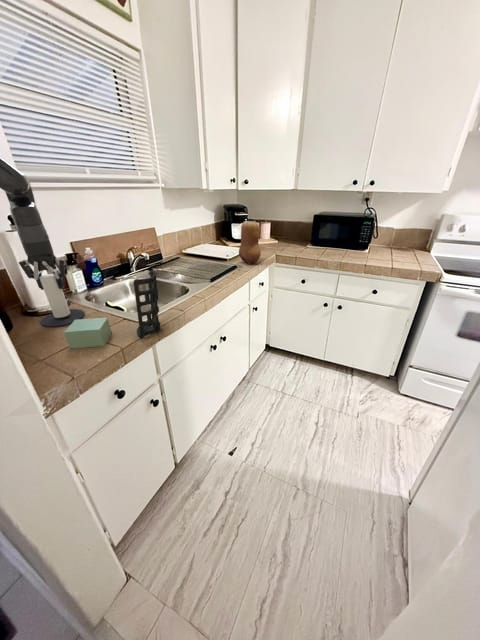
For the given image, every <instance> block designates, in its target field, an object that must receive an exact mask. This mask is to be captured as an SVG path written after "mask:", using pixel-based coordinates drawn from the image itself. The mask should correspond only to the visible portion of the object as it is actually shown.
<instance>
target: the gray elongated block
mask: <svg viewBox="0 0 480 640" xmlns="http://www.w3.org/2000/svg"><path fill="white" fill-rule="evenodd" d="M39 278H40V281H41V284H42V286H43V289H44V290H43V292H44V294H45V297H46V299H47V302H48V304H49V307H50V309H51V313H53V315H54V317H55V318H62V317H65V316H68V315H69V314H70V310H69V309H70V308H69V305H68V302H67V300H66V296H65V293H64V291H63V288H62V289H59V287H58V284H57V282H56V279H57V278H56V277H55V276H54V275H53V274H52V273H48V274H42V276H40V277H39Z"/></svg>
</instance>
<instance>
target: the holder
mask: <svg viewBox="0 0 480 640" xmlns="http://www.w3.org/2000/svg"><path fill="white" fill-rule="evenodd" d="M149 272H150V276H149V277H147V278H139V279H137V278H136V279H134V280H133V288H134V289H133V291H134V297H135V305H136V312H137V320H138V327H137V328H136V335H137V336H138V337H139V338H140V339H142V338H144V337H146V336H150V335H153V334H154V333H158V332H160V330H161V322H160V320H159V313H160V308H159V305H158V301H159V290H158V288H157V287H158V286H157V282H158V279H157V273H156V272H155V271H154V270H150V271H149ZM147 284H148V287H149V288H148V289H147V290H146V289H145V290H140V287H139V286H141V285H147ZM141 296H144V301H141V298H140V297H141ZM148 305H150V309H149V310H146V311H142V307H144V306H148ZM145 316H146V320H145V321H143V317H145Z"/></svg>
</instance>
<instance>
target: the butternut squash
mask: <svg viewBox="0 0 480 640" xmlns="http://www.w3.org/2000/svg"><path fill="white" fill-rule="evenodd" d="M260 233H261V227H260V224H259V223H258V222H256V221H252V220H245V221H243V222H242V223H241V226H240V246H239V249H238V255H239V257H240V260H241V261H242V262H244V263H245V264H247V265H252V264H255V263H256V262H258V260H259V259H260V258H261V254H262V253H261V251H262V250H261V248H260V244H259V240H260V236H261V235H260ZM248 263H250V264H248Z"/></svg>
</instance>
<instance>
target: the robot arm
mask: <svg viewBox="0 0 480 640" xmlns="http://www.w3.org/2000/svg"><path fill="white" fill-rule="evenodd" d="M0 190H2V191H4V193H5V195H6V197H7V200H8V202H9V203H8V204H9V210H10V214H11V217H12V220H13V222H14V225H15V228H16V232H17V235H18V239H19V241H20V243H21V245H22V248H23V251H24V253H25V256H27V259H23V260H20V261H19V262H18V265H19V266H20V268H21V269H22V271H23V273H24V274H25V275H26V276H27V277H26V278H28V279H33V280H35V282H36V284H37V286H38V288H39V289H40V290H41V291H44V289H43V286H42V284H41V281H40V278H39V277H40V276H43V271H48V272H49V274H53V275H54V276H55V277H56V278H57V279H56V282H57V284H58V287H59V289H62V290H63V289H64V288H65V286H66V284H65V281H64V278H65V277H66V276H67V275H68V264H67V259H66V258H65V257H63V258H58V257H57V256H56V255H55V253H54V249H53V246H52V244H51V241H50V235H48V232H47V229H46V227H45V225H44V222H43V220H42V219H43V218H42V217H41V213H40V211H39V208H38V206H37V203H36V200H35V195H34V192H33V188H32V185H31V182H30V180H29V178H28V176H27V175H26V174H25V173H24V172H22V171H20V170H19V169H16V168H15V167H13V166H12V165H11V164H10V163H8V162H7V161H6V160H4V159H3V158H1V157H0ZM57 265H58V266H59V268H58V266H57ZM31 266H32V267H33V268H32V267H31Z"/></svg>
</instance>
